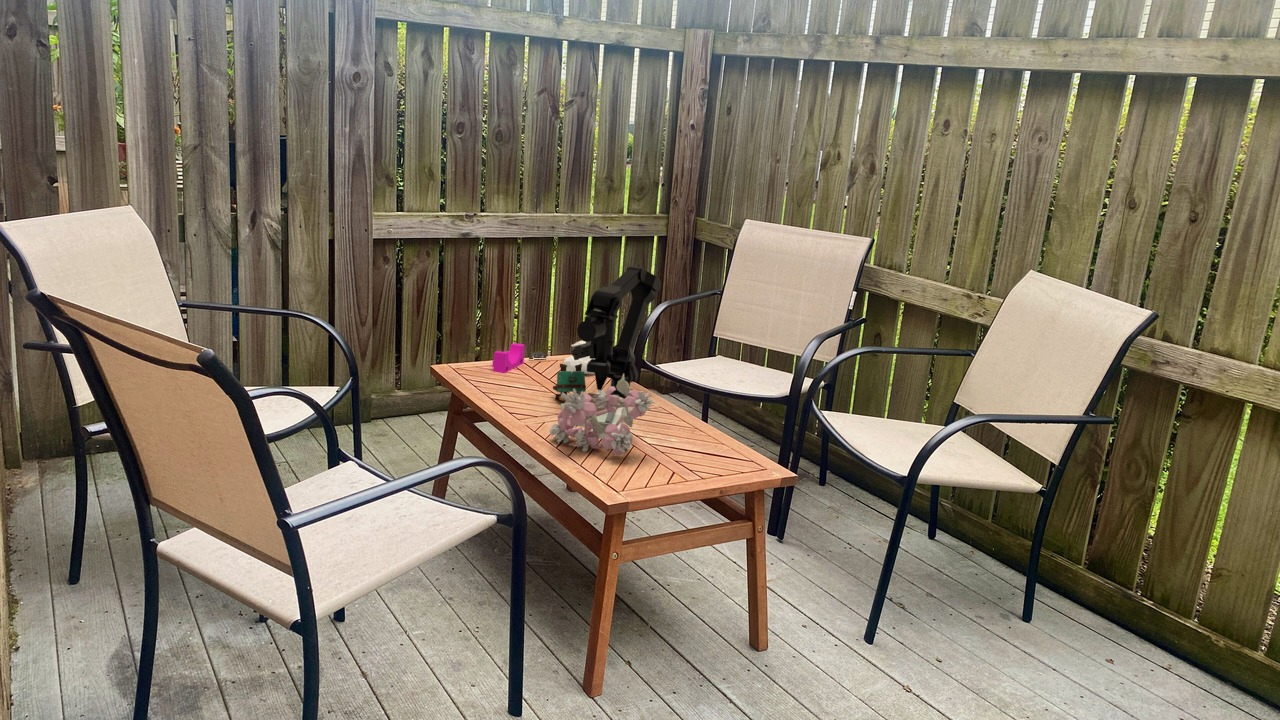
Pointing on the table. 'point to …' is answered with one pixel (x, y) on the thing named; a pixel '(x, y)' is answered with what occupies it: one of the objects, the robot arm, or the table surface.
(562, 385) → the binoculars
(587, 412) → the flower
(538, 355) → the car cutout
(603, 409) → the walnut block
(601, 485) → the table surface
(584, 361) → the white tied sack
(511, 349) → the toy block
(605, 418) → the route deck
